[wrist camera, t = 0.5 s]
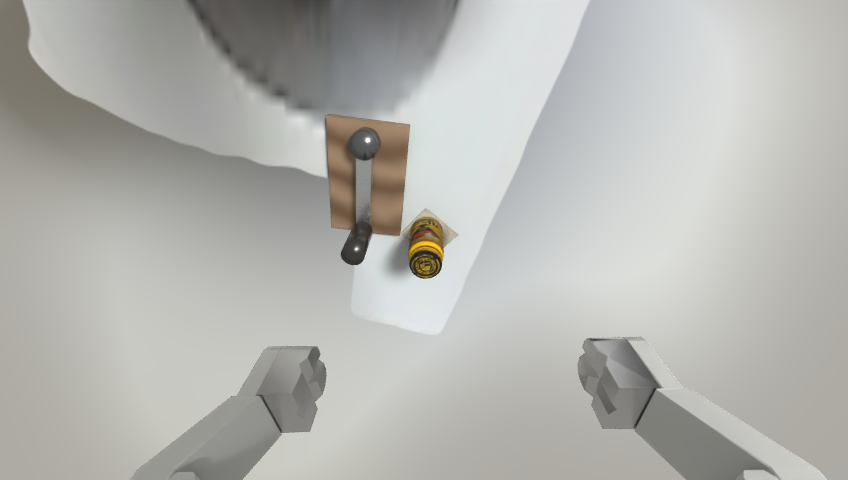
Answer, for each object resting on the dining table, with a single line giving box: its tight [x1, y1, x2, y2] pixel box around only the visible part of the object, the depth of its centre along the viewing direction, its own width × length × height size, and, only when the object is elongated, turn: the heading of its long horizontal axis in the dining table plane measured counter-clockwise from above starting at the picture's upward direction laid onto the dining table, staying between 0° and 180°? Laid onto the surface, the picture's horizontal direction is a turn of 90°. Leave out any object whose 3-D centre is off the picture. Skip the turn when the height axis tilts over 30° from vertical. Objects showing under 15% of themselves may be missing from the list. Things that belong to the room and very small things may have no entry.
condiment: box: [401, 209, 458, 279], centre depth 54 cm, size 7×8×12 cm
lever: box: [341, 127, 381, 265], centre depth 47 cm, size 19×4×10 cm, turn 173°
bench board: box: [326, 114, 410, 235], centre depth 53 cm, size 20×13×2 cm, turn 173°
